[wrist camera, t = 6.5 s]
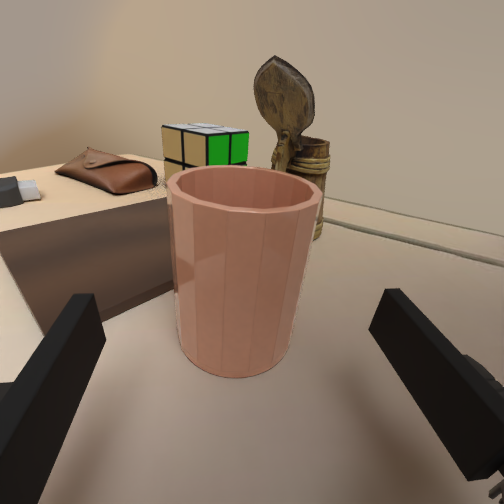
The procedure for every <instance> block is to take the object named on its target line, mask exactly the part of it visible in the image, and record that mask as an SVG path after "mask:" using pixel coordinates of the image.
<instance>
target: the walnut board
mask: <svg viewBox="0 0 504 504" xmlns="http://www.w3.org/2000/svg"><path fill="white" fill-rule="evenodd" d="M0 255H1V257H2V259H3V260H4V262H5V264H6V266H7V268H8V270H9V272H10V274H11V275H12V277H13V279H14V281H15V283H16V285H17V287H18V289H19V291H20V292H21V294H22V296H23V298H24V300H25V302H26V304H27V306H28V308H29V309H30V311H31V313H32V315H33V317H34V319H35V321H36V323H37V325H38V326H39V328H40V330H41V332H42V334H43V336H44V337H45V335H46V334H47V332H48V331H49V329H50V328H51V326H52V325H53V323H54V322H55V320H56V319H57V317H58V316H59V314H60V313H61V311H62V310H63V309H64V307H65V306H66V304H67V303H68V301H69V300H70V298H71V297H72V295H73V294H78V293H94V296H95V300H96V303H97V307H98V311H99V315H100V318H101V322H103V321H105V320H107V319H109V318H111V317H113V316H116V315H118V314H120V313H122V312H124V311H126V310H128V309H131V308H133V307H135V306H137V305H139V304H141V303H143V302H145V301H148V300H150V299H152V298H154V297H156V296H158V295H160V294H163V293H165V292H167V291H169V290H171V289H173V288H174V282H173V269H172V256H171V243H170V230H169V217H168V204H167V197H165V198H160V199H155V200H151V201H146V202H141V203H136V204H132V205H127V206H122V207H117V208H113V209H108V210H103V211H98V212H93V213H89V214H84V215H79V216H74V217H70V218H65V219H60V220H55V221H51V222H46V223H41V224H36V225H32V226H27V227H22V228H17V229H12V230H8V231H3V232H0Z"/></svg>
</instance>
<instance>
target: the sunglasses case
mask: <svg viewBox="0 0 504 504" xmlns="http://www.w3.org/2000/svg"><path fill="white" fill-rule="evenodd" d="M87 148H88V150H86V151H85V152H83V153H82V154H80V155H79V156H77V157H76V158H74V159H73V160H71V161H69V162H68V163H66V164H65V165H63V166H62V167H60V168H59V169H57V170H56V171H55V173H59V174H63V175H66V176H69V177H71V178H74V179H77V180H79V181H82V182H84V183H87V184H89V185H92V186H94V187H96V188H99V189H102V190H105V191H109V192H113V193H120V194H122V193H132V192H138V191H142V190H146V189H150V188H153V187H154V186H155V185H156V183H157V181H158V177H157V173H156V171H155V170H154V169H153V168H152V167H151V166H150V165H148V164H146V163H144V162H141V161H136V160H129V159H126V158H123V157H120V156H116V155H113V154H109V153H105V152H101V151H97V150H94V149H92V148H90V147H87Z"/></svg>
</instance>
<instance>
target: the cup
mask: <svg viewBox="0 0 504 504" xmlns="http://www.w3.org/2000/svg"><path fill="white" fill-rule="evenodd" d="M166 191H167V204H168V217H169V230H170V243H171V256H172V269H173V282H174V295H175V308H176V321H177V331H178V334H179V341H180V345H181V348H182V350H183V352H184V353H185V355H186V356H187V357H188V358H189V360H190V361H191V362H192V363H194V364H195V365H196V366H198V367H199V368H201V369H202V370H204V371H206V372H208V373H211V374H214V375H217V376H222V377H228V378H244V377H250V376H254V375H258V374H260V373H263V372H265V371H267V370H269V369H270V368H272V367H273V366H275V365H276V364H277V363H278V362H279V361H280V360H281V359H282V358H283V357H284V355H285V353H286V352H287V350H288V347H289V343H290V339H291V336H292V333H293V329H294V324H295V320H296V315H297V310H298V306H299V301H300V297H301V292H302V288H303V283H304V279H305V274H306V270H307V265H308V260H309V256H310V251H311V247H312V242H313V238H314V233H315V229H316V224H317V220H318V215H319V210H320V206H321V201H322V197H323V193H322V192H321V190H320V189H319V188H318V187H317V185H316V184H314V183H312V182H310V181H308V180H306V179H304V178H302V177H299V176H296V175H292V174H289V173H286V172H282V171H278V170H272V169H266V168H260V167H251V166H238V165H211V166H203V167H196V168H189V169H186V170H183V171H180V172H178V173H175V174H173V175H172V176H171V177H170V178H169V179H168V181H167V182H166Z"/></svg>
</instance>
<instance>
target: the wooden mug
mask: <svg viewBox="0 0 504 504" xmlns="http://www.w3.org/2000/svg"><path fill="white" fill-rule="evenodd" d="M254 95H255V100H256V103H257V106H258V109H259V111H260V113H261V115H262V117H263V118H264V119H265V120H266V122H267V123H268V124H269V125H270V126H271V127H272V128H273V129H274V130H275V131H276V133H277V137H278V143H277V146H276V148H275V149H274V152H273V155H272V159H271V162H272V167H271V169H272V170H278V171H282V172H286V173H289V174H292V175H296V176H299V177H302V178H304V179H306V180H308V181H310V182H312V183H314V184H316V185H317V187H318V188H319V189H320V190H321V192H322V193H323V197H322V201H321V206H320V210H319V215H318V220H317V224H316V229H315V233H314V238H313V240H314V239H316V238H318V237H319V236H320V235H321V231H322V226H323V217H322V215H323V203H324V192H325V180H326V174H327V171H328V170H329V167H330V166H329V165H330V155H329V144H330V142H328V141H326V140H322V139H317V138H311V137H308V136H301V133H302V132H303V131H304V130H305V129H306V128H307V127H309V126H310V125H311V124H312V122H313V119H314V116H315V112H314V111H315V110H314V109H315V103H314V94H313V91H312V87H311V85H310V84H309V82H308V81H307V80H306V78H305V77H304V76H303V75H302V74H301V73H300V72H299V71H298V70H297V69H295V68H294V67H293V66H292V65H290V64H289V63H288V62H286V61H284V60H283V59H281V58H279V57H277V56H275V55H274V56H273V57H272V58H270V59H269V60H268V61H267V62H266V63H265V64H263V65H262V66H261V68H260V69H259V70H258V72H257V74H256V77H255V79H254Z"/></svg>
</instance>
